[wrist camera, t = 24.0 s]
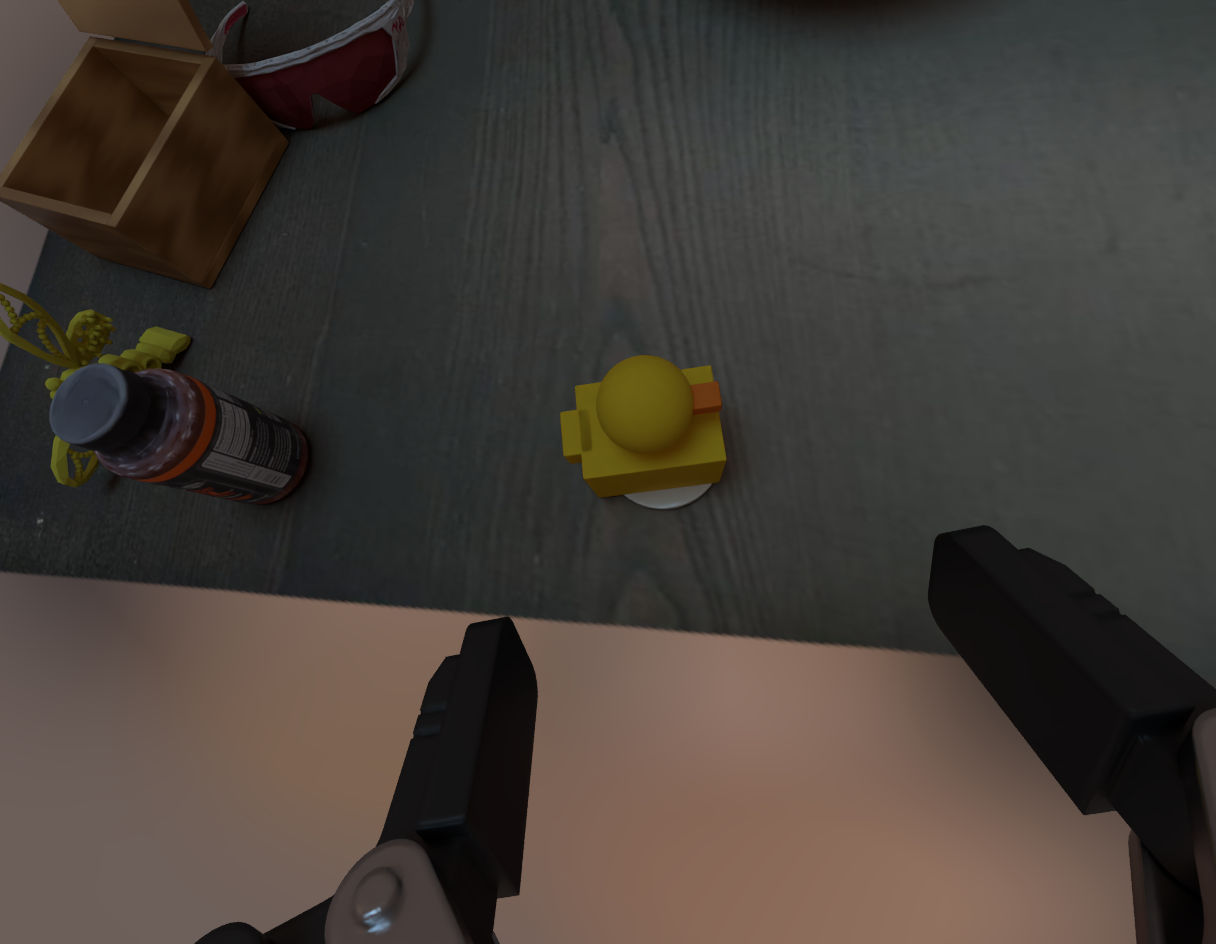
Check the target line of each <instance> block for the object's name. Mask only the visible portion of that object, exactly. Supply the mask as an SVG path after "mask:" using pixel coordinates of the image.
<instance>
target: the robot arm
mask: <svg viewBox="0 0 1216 944" xmlns="http://www.w3.org/2000/svg"><path fill="white" fill-rule="evenodd" d="M928 601H929V606H930V609H931V612H932V615H933V617H934V619H935V621H936V623H937V625H938V627H939V628H940V629H941V631H942V632H943V633H944V635H945V636H946V637H947V639H948V640H949V641H950V642H951V644H952V645H953V646H954V648H955V649H956V650H957V652H958V653H959V654H960V655H961V657H962V658H963V659H964V661H965V662H966V663H967V665H968V666H969V667H970V668H971V669H972V671H973V672H974V674H975V675H976V676H977V678H978V679H979V680H980V681H981V683H982V684H983V685H984V687H985V688H986V689H987V690H988V692H989V693H990V694H991V696H992V697H993V698H994V700H995V701H996V702H997V703H998V705H999V706H1000V707H1001V709H1002V710H1003V711H1004V713H1005V714H1006V715H1007V716H1008V717H1009V719H1010V720H1011V722H1012V723H1013V724H1014V726H1015V727H1016V728H1017V729H1018V731H1019V732H1020V733H1021V735H1022V736H1023V737H1024V739H1025V740H1026V741H1027V742H1028V744H1029V745H1030V746H1031V748H1032V749H1033V750H1034V751H1035V753H1036V754H1037V755H1038V757H1039V758H1040V759H1041V761H1042V762H1043V763H1044V764H1045V766H1046V767H1047V768H1048V770H1049V771H1050V772H1051V773H1052V775H1053V776H1054V778H1055V779H1056V780H1057V781H1058V783H1059V784H1060V785H1061V787H1062V788H1063V789H1064V790H1065V792H1066V793H1067V794H1068V796H1069V797H1070V798H1071V800H1072V801H1073V802H1074V804H1075V805H1076V806H1077V807H1078V809H1079V810H1080V811H1081V813H1082V814H1083V815H1089V814H1096V813H1103V812H1109V811H1117V812H1118V813H1119V814H1120V815H1121V817H1122V818H1123V819H1124V820H1125V821H1126V823H1127V824H1128V825H1129V826H1130V828H1131V831H1130V834H1129V841H1128V845H1129V857H1130V869H1131V881H1132V893H1133V905H1134V917H1135V929H1136V941H1137V944H1216V689H1215V688H1213V687H1212V686H1211V685H1210V684H1209V683H1207V682H1206V681H1205V680H1204V679H1203V678H1201V677H1200V676H1199V675H1198V674H1197V673H1195V672H1194V671H1193V670H1192V669H1190V668H1189V667H1188V666H1187V665H1186V664H1184V663H1183V662H1182V661H1181V660H1180V659H1178V658H1177V657H1176V656H1175V655H1174V654H1172V653H1171V652H1170V651H1169V650H1167V649H1166V648H1165V647H1164V646H1163V645H1161V644H1160V643H1159V642H1158V641H1157V640H1155V639H1154V638H1153V637H1152V636H1151V635H1149V634H1148V633H1147V632H1146V631H1144V630H1143V629H1142V628H1141V627H1140V626H1138V625H1137V624H1136V623H1135V622H1134V621H1132V620H1131V619H1130V618H1129V617H1127V616H1126V615H1121V614H1120V613H1119V609H1118V608H1117V607H1115V606H1114V605H1113V604H1112V603H1111V602H1109V601H1108V600H1107V599H1106V598H1104V597H1103V596H1102V595H1101V594H1096V593H1095V591H1094V588H1092V587H1091V586H1090V585H1089V584H1088V583H1086V582H1085V581H1084V580H1083V579H1081V578H1080V577H1079V576H1078V575H1077V574H1075V573H1074V572H1073V571H1072V570H1071V569H1069V568H1068V567H1067V566H1066V565H1064V564H1062V563H1060V562H1057V561H1055V560H1053V559H1051V558H1049V557H1047V556H1045V555H1043V554H1041V553H1039V552H1037V551H1034V550H1032V549H1030V548H1025V549H1020V550H1018V549H1017V548H1015V547H1014V546H1013V545H1012V544H1011V543H1010V542H1009V541H1007V540H1006V539H1005V538H1004V537H1003V536H1002V535H1001V534H1000V533H998V532H997V531H996V530H995V529H993V528H991V527H989V526H986V525H982V526H977V527H972V528H967V529H962V530H957V531H952V532H946V533H941V534H939V535H938V536H937V537H936V539H935V542H934V549H933V557H932V565H931V573H930V581H929V589H928ZM537 699H538V691H537V680H536V675H535V671H534V667H533V665H532V663H531V660H530V658H529V656H528V654H527V652H526V649H525V647H524V645H523V643H522V641H521V639H520V636H519V634H518V632H517V630H516V628H515V625H514V623H513V621H512V620H511V619H510V618H509V617H502V618H498V619H492V620H487V621H482V622H477V623H472V624H470V625H469V626H468V628H467V629H466V632H465V637H464V640H463V644H462V648H461V651H460V654H459V655H453V656H448V657H446V658H445V659H444V661H443V662H442V664H441V665H440V666H439V668H438V669H437V671H436V672H435V674H434V675H433V677H432V678H431V679H430V681H429V683H428V686H427V689H426V692H425V695H424V699H423V702H422V705H421V708H420V711H421V714H420V715H418V718H417V721H416V725H415V728H414V731H413V734H414V737H413V739H411V741H410V744H409V748H408V751H407V754H406V758H405V760H404V763H403V767H402V770H401V773H400V776H399V780H398V783H397V786H396V790H395V793H394V796H393V799H392V802H391V806H390V809H389V812H388V815H387V818H386V822H385V825H384V828H383V831H382V834H381V837H380V839H379V841H378V843H377V845H376V847H375V848H373V849H372V850H371V851H369V852H368V853H367V854H365V855H364V856H363V857H362V858H361V859H360V860H359V861H358V862H357V863H356V864H355V865H354V866H353V867H352V868H351V870H350V871H349V872H348V874H347V875H346V876H345V878H344V879H343V880H342V882H341V884H340V886H339V887H338V889H337V891H336V893H335V894H334V895H333V896H332V897H330V898H328V899H327V900H325V901H324V902H322V903H320V904H318V905H316V906H314V907H313V908H311V909H309V910H307V911H305V912H303V913H302V914H299V915H298V916H296V917H294V918H292V919H290V920H288V921H286V922H285V923H283V924H281V925H279V926H277V927H275V928H273V929H272V930H270V931H268V932H266V933H264V934H262V933H261V932H259V931H258V930H256V929H255V928H254V927H252V926H251V925H249V924H246V923H242V922H234V923H229V924H226V925H223V926H221V927H218V928H216V929H214V930H212V931H211V932H209V933H208V934H206V935H205V936H203V937H202V938H201V939H199V940H198V941H197V942H196V943H195V944H500V943H499V941H498V939H497V937H496V935H495V933H494V932H493V926H494V918H495V910H496V902H497V898H504V897H511V896H517V895H519V893H520V882H521V872H522V861H523V850H524V839H525V829H526V818H527V807H528V796H529V785H530V775H531V763H532V753H533V742H534V731H535V721H536V710H537Z"/></svg>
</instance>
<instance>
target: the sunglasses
mask: <svg viewBox="0 0 1216 944" xmlns="http://www.w3.org/2000/svg"><path fill="white" fill-rule="evenodd" d="M406 4H407V6H406ZM413 4H414V0H390V1H389V2H387V3H386V4H385V5H383V6H382V7H380V8H379V9H377V10H376V11H374V12H373V13H371V14H370V15H368V16H367V17H365V18H364V19H362V20H360V21H359V22H357V23H356V24H354V25H353V26H351V27H350V28H348V29H346V30H344V31H342V32H340V33H338V34H336V35H334V36H332V37H330V38H328V39H326V40H324V41H322V42H320V43H317V44H315V45H313V46H310V47H308V48H305V49H302V50H299V51H295V52H292V53H289V54H285V55H282V56H278V57H274V58H271V59H267V60H263V61H260V62H256V63H249V64H232V65H223V64H222V65H223V66H224V67H225V68H226V69H227V70H228V72H229V73H230V74H231V75H232V76H233V77H234V79H235V80H236V81H237V82H238V83H239V84H240V85H241V87H242V88H243V89H244V90H245V91H246V92H247V94H248V95H249V96H250V97H251V98H252V99H253V100H254V102H255V103H256V104H257V105H258V106H259V107H260V109H261V110H262V111H263V112H264V113H265V114H266V115H267V117H268V118H269V119H270V120H271V121H272V122H273V124H274V125H275V126H278V127H281V128H287V129H293V130H295V129H296V128H300V129H309V128H311V127H313V126H314V122H313V101H312V98H311V95H312V94H319V95H321V96H322V97H324V98H326V99H327V100H329V101H331V102H332V103H334V104H336V105H338V106H340V107H342V108H344V109H346V110H348V111H351V112H356V113H361V112H362V111H364V110H366V109H367V108H369V107H371V106H372V105H374V104H377V103H378V102H379V101H380V100H382V99H383V98H384V97H385V96H386V95H387V94H388V93H389V92H390V91H391V90H392V89H393V88H394V86H395V85H396V84H397V83H398V82H399V80H400V78H401V77H402V75H403V73H404V71H405V69H406V67H407V54H408V51H409V48H410V45H409V40H408V35H407V31H406V26H405V24H406V22H407V20H408V18H409V15H410V13H411V10H412V7H413ZM408 10H409V11H408ZM247 12H248V7H247V4H246V3H245V2H244V1H242V2H241V3H240V4H238V5H237V6H236V7H235V8H234V9H232V10H231V11H230V12H229V13H228V14H227V15H226V17H225V18H224V19H223V20H222V22H221V23H220V24H219V27H218V29H217V31H216V32H215V33H214V35H213V36H212V38H211V40H210V42H211V44H212V46H213V48H212V49H210V50H208V51H206V55H209V56H215V57H216V58H217V59H218V60H219V61H220V62H221V63H222V47H223V45H224V42H225V39H226V37H227V34H228V31H229V30H230V28H231V27H232V26H233V25H234V24H235V23H236V22H237V21H239V20H240V19H242V18H243V17H244V16H245V15H246V14H247ZM345 33H346V34H345ZM343 34H344V35H343ZM403 37H404V39H403ZM326 42H327V43H326ZM298 53H300V54H298ZM287 57H288V58H287ZM258 65H259V66H258ZM233 68H234V69H233ZM239 68H240V69H239Z"/></svg>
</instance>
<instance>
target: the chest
mask: <svg viewBox="0 0 1216 944" xmlns="http://www.w3.org/2000/svg"><path fill="white" fill-rule="evenodd" d="M288 144H289V141H288V140H287V139H286V138H285V137H284V135H283V134H282V133H281V132H280V131H279V129H278V128H277V127H276V126H275V125H274V124H273V122H272V121H271V120H270V119H269V118H268V117H267V115H266V114H265V113H264V112H263V111H262V110H261V109H260V107H259V106H258V105H257V104H256V103H255V102H254V100H253V99H252V98H251V97H250V96H249V95H248V94H247V92H246V91H245V90H244V89H243V88H242V87H241V85H240V84H239V83H238V82H237V81H236V80H235V79H234V77H233V76H232V75H231V74H230V73H229V72H228V70H227V69H226V68H225V67H224V66H223V65H222V63H221V62H220V61H219V60H218V59H217V58H216V57H215V56H209V55H203V54H197V53H190V52H184V51H178V50H172V49H165V48H159V47H153V46H147V45H140V44H134V43H128V42H122V41H115V40H109V39H103V38H97V37H89V39H88V40H87V42H86V43H85V45H84V46H83V48H82V49H81V51H80V52H79V54H78V56H77V57H76V59H75V60H74V62H73V64H72V65H71V66H70V68H69V70H68V71H67V72H66V74H65V76H64V77H63V79H62V80H61V82H60V83H59V85H58V86H57V88H56V89H55V91H54V93H53V94H52V96H51V97H50V99H49V100H48V102H47V103H46V105H45V106H44V108H43V109H42V111H41V113H40V114H39V116H38V117H37V119H36V120H35V122H34V123H33V125H32V127H31V128H30V130H29V131H28V133H27V134H26V136H25V137H24V139H23V140H22V142H21V144H20V145H19V147H18V148H17V150H16V151H15V153H14V154H13V156H12V157H11V159H10V161H9V162H8V164H7V165H6V166H5V168H4V170H3V171H2V173H1V174H0V201H1V202H3V203H4V204H6V205H8V206H10V207H11V208H13V209H15V210H17V211H18V212H20V213H22V214H23V215H25V216H27V217H29V218H30V219H32V220H34V221H36V222H37V223H39V224H41V225H43V226H44V227H46V228H48V229H49V230H51V231H53V232H54V233H56V234H58V235H60V236H61V237H63V238H65V239H67V240H68V241H70V242H72V243H73V244H75V245H77V246H79V247H80V248H82V249H84V250H86V251H88V252H89V253H91V254H93V255H94V256H96V257H98V258H101V259H105V260H109V261H112V262H116V263H119V264H123V265H126V266H130V267H134V268H137V269H141V270H144V271H148V272H152V273H155V274H159V275H162V276H166V277H169V278H173V279H177V280H180V281H184V282H187V283H191V284H194V285H198V286H202V287H205V288H209V289H211V287H212V285H213V284H214V282H215V280H216V278H217V276H218V274H219V272H220V270H221V269H222V267H223V265H224V263H225V261H226V259H227V257H228V256H229V254H230V252H231V250H232V248H233V246H234V244H235V242H236V241H237V239H238V237H239V235H240V233H241V231H242V229H243V228H244V226H245V224H246V222H247V220H248V218H249V216H250V214H251V213H252V211H253V209H254V207H255V205H256V203H257V201H258V200H259V198H260V196H261V194H262V192H263V190H264V188H265V187H266V185H267V183H268V181H269V179H270V177H271V175H272V173H273V172H274V170H275V168H276V166H277V164H278V162H279V160H280V159H281V157H282V155H283V153H284V151H285V149H286V147H287V145H288Z"/></svg>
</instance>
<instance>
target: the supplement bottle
mask: <svg viewBox="0 0 1216 944" xmlns="http://www.w3.org/2000/svg"><path fill="white" fill-rule="evenodd" d="M50 425H51V427H52V429H53V431H54V433H55V435H57V436H58V437H59V438H60V439H61V440H63V441H65V442H67V443H70V444H73V445H77V446H80V447H84V448H86V449H90V450H93V451H94V453H95V454H96V456H97V458H98V460H99V461H100V462H101V464H102V465H104V466H105V467H106V468H107V469H108V470H110V471H111V472H113V473H115V474H118V475H119V476H122V477H127V478H130V479H134V480H139V481H143V482H149V483H152V484H156V485H161V486H166V487H171V488H175V489H181V490H186V491H191V492H196V493H201V494H205V495H209V496H213V497H219V498H224V499H228V500H232V501H236V502H241V503H248V504H267V503H271V502H274V501H277V500H279V499H281V498H284V497H285V496H286V495H287V494H289V493H290V492H291V491H292V490H293V489H294V488H295V487H296V486H297V484H298V483H299V482H300V480H301V478H302V477H303V475H304V473H305V471H306V468H307V464H308V458H309V457H308V444H307V442H306V439H305V437H304V435H303V434H302V432H301V431H300V430H299V429H298V428H297V427H296V426H295V425H294V424H292V423H290V422H288V421H286V420H285V419H283V418H281V417H279V416H277V415H274V414H272V413H270V412H267V411H265V410H263V409H261V408H259V407H256V406H254V405H252V404H250V403H247V402H245V401H243V400H241V399H239V398H236V397H234V396H232V395H230V394H227V393H225V392H223V391H221V390H218V389H216V388H214V387H212V386H209V385H207V384H205V383H203V382H201V381H199V380H196V379H194V378H191V377H189V376H187V375H184V374H182V373H178V372H175V371H172V370H167V369H146V370H142V371H138V372H135V373H134V372H130V371H126V370H122V369H120V368H117V367H115V366H112V365H109V364H105V363H96V364H90V365H87V366H85V367H82V368H80V369H79V370H76V371H75V372H74V373H73V374H71V375H70V376H69V377H67V378H66V379H65V381H64V382H63V383H62V384H61V385H60V387H59V388H58V389H57V391H56V393H55V396H54V398H53V401H52V403H51V407H50Z"/></svg>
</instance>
